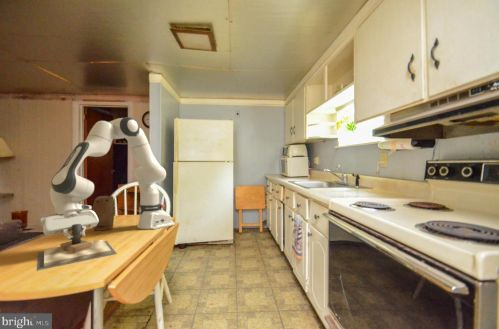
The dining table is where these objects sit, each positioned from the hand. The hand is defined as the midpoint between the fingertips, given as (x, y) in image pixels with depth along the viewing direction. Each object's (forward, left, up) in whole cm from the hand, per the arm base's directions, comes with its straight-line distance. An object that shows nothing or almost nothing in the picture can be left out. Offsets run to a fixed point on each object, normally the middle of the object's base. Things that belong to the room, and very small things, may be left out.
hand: (77, 237), depth 104 cm
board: (0, +1, -7) cm, 7 cm away
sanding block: (0, -1, -5) cm, 5 cm away
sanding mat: (0, +1, -7) cm, 7 cm away
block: (-16, -39, -7) cm, 43 cm away
